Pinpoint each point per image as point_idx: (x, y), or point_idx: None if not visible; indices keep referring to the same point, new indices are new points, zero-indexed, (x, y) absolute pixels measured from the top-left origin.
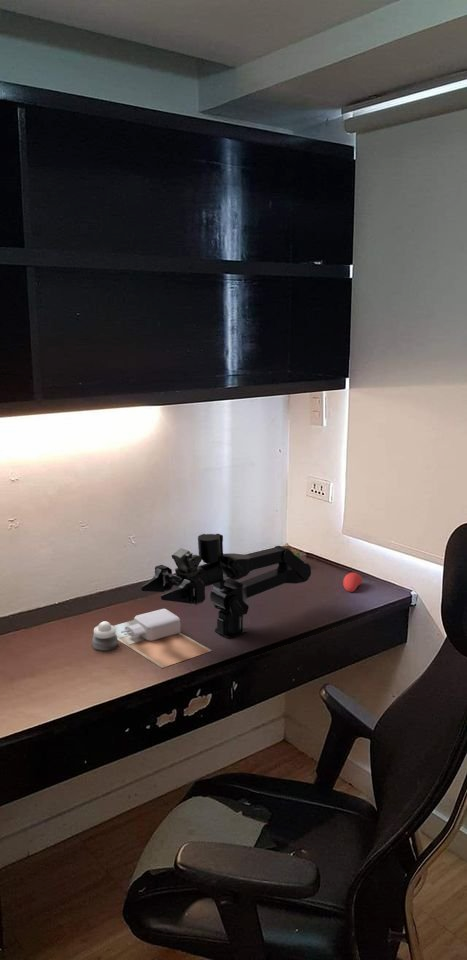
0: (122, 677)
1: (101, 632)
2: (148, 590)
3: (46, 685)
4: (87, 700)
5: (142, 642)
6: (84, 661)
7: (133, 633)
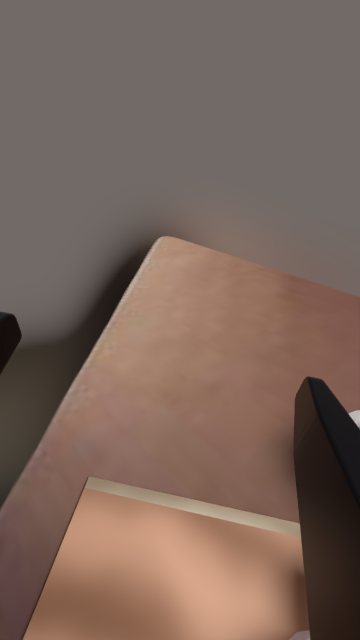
0: (150, 377)
1: (354, 419)
2: (298, 468)
3: (236, 292)
4: (142, 300)
5: (301, 606)
6: (283, 374)
7: None
